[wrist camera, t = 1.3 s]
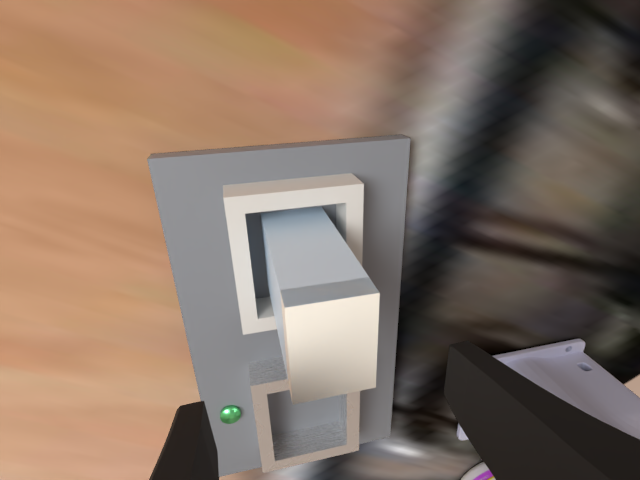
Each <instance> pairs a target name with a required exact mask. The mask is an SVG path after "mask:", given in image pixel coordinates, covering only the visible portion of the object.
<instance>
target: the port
mask: <svg viewBox="0 0 640 480" xmlns="http://www.w3.org/2000/svg"><path fill="white" fill-rule="evenodd" d="M248 365H249V376H250V387H251V394H252V401H253V408H254V415H255V422H256V429H257V436H258V443H259V450H260V456H261V463H262V470H263V473H265V472H269V471H273V470H278V469H282V468H286V467H290V466H295V465H299V464H303V463H307V462H312V461H316V460H320V459H324V458H329V457H333V456H337V455H341V454H346V453H350V452H354V451H358V450H359V416H360V391H357V392H352V393H347V394H342V395H339V421H337V422H332V423H327V424H323V425H318V426H314V427H309V428H305V429H300V430H295V431H291V432H286V433H282V434H277V435H273V436H272V433H271V424H270V416H269V408H268V400H267V394H271V393H276V392H281V391H286V390H290V389H289V384H288V379H287V375H286V370H285V365H284V360H283V357H277V358H272V359H266V360H261V361H255V362H250V363H248ZM240 417H241V411H240V408H239V407H238V406H236V405H228V406H225V407H224V408H223V409H222V410H221V411H220V420H221V421H222V422H223V423H226V424H232V423H235V422H237V421H238V420H239V419H240Z"/></svg>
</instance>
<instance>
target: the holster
mask: <svg viewBox="0 0 640 480" xmlns="http://www.w3.org/2000/svg"><path fill="white" fill-rule="evenodd" d="M223 199H224V206H225V213H226V220H227V227H228V234H229V241H230V248H231V255H232V262H233V269H234V276H235V283H236V290H237V297H238V304H239V311H240V318H241V325H242V331H243V335H245V334H251V333H257V332H263V331H269V330H275V329H277V326H276V322H275V317H274V312H273V307H272V302H271V297H264V298H257V299H255V292H254V284H253V276H252V268H251V259H250V251H249V243H248V234H247V226H246V218H245V214H247V213H256V212H265V211H275V210H284V209H293V208H302V207H311V206H320V205H329V204H336V229H337V230H338V232H339V233H340V235H341V236H342V238H343V239H344V241H345V242H346V244H347V245H348V247H349V248H350V250H351V251H352V252H353V254H354V255H355V257H356V258H357V260H358V261H359V263H360V264H361V266H362V253H363V199H364V183H362V182H361V181H360V180H359V179H358V178H357V177H356V176H354V175H353V174H352V173H348V174H337V175H327V176H316V177H305V178H295V179H284V180H274V181H263V182H252V183H242V184H231V185H223Z"/></svg>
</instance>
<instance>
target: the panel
mask: <svg viewBox="0 0 640 480" xmlns="http://www.w3.org/2000/svg"><path fill="white" fill-rule="evenodd" d="M409 153H410V138H409V137H406V136H404V135H391V136H378V137H365V138H352V139H339V140H326V141H313V142H300V143H287V144H274V145H261V146H248V147H235V148H222V149H209V150H196V151H183V152H170V153H157V154H151V155H150V156H149V157H148V159H147V160H148V164H149V169H150V173H151V178H152V182H153V187H154V191H155V196H156V200H157V205H158V209H159V214H160V218H161V223H162V227H163V232H164V237H165V241H166V246H167V250H168V255H169V259H170V264H171V268H172V273H173V277H174V282H175V286H176V291H177V295H178V300H179V304H180V309H181V313H182V318H183V322H184V327H185V331H186V336H187V340H188V345H189V349H190V354H191V358H192V363H193V367H194V372H195V376H196V381H197V385H198V390H199V394H200V399H201V401H204V402H205V406H206V410H207V414H208V417H209V421H210V425H211V429H212V432H213V436H214V440H215V444H216V447H217V451H218V469H219V477H220V476H225V475H229V474H233V473H238V472H242V471H246V470H251V469H255V468H259V467H262V463H261V456H260V450H259V443H258V436H257V429H256V422H255V415H254V408H253V401H252V394H251V387H250V376H249V365H248V363H250V362H255V361H261V360H266V359H272V358H277V357H283V355H282V350H281V346H280V341H279V336H278V331H277V329H275V330H269V331H263V332H257V333H251V334H245V335H243V331H242V325H241V318H240V311H239V304H238V297H237V290H236V283H235V276H234V269H233V262H232V255H231V248H230V241H229V234H228V227H227V220H226V213H225V206H224V199H223V185H231V184H242V183H252V182H263V181H274V180H284V179H295V178H305V177H316V176H327V175H337V174H348V173H352V174H353V175H354V176H356V177H357V178H358V179H359V180H360V181H361V182H362V183H364V199H363V253H362V267H363V269H364V270H365V272H366V273H367V275H368V276H369V278H370V279H371V281H372V282H373V284H374V285H375V287H376V288H377V289H378V291H379V292H380V299H379V323H378V347H377V371H376V388H371V389H366V390H362V391H360V416H359V444H362V443H366V442H371V441H375V440H379V439H384V438H388V437H390V432H391V417H392V403H393V388H394V373H395V359H396V344H397V329H398V315H399V300H400V285H401V270H402V256H403V241H404V226H405V212H406V197H407V182H408V168H409ZM314 207H322V208H323V210H324V211H325V213H326V214H327V216H328V217H329V218H330V220H331V221H332V223H333V224H334V226H335V227H336V204H329V205H320V206H311V207H302V208H293V209H284V210H275V211H265V212H256V213H247V214H245V218H246V226H247V234H248V243H249V251H250V259H251V268H252V276H253V284H254V292H255V299H257V298H264V297H270V293H269V288H268V281H267V272H266V262H265V252H264V242H263V233H262V223H261V213H268V212H277V211H286V210H295V209H304V208H314ZM267 400H268V408H269V416H270V424H271V433H272V436H273V435H277V434H282V433H286V432H291V431H295V430H300V429H305V428H309V427H314V426H318V425H323V424H327V423H332V422H337V421H339V395H337V396H332V397H328V398H323V399H318V400H313V401H308V402H303V403H298V404H294V405H293V404H292V399H291V394H290V390H286V391H281V392H276V393H271V394H267ZM228 405H236V406H238V407H239V408H240V411H241V417H240V419H239V420H238V421H237V422H235V423H232V424H226V423H223V422H222V421H221V420H220V411H221V410H222V409H223V408H224V407H225V406H228Z"/></svg>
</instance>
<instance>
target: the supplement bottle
mask: <svg viewBox="0 0 640 480" xmlns="http://www.w3.org/2000/svg"><path fill="white" fill-rule="evenodd" d="M461 480H496V479H495V478H494V476H493V475H492V473H491V472H490V470H489V469H488V467H487V466H486V464H485V463H484V462H481V463H479V464H477V465H476V466H474V467H473V468H471V469H470V470H469V471H468V472H467V473H466V474H465V475H464V476H463V477H462V478H461Z"/></svg>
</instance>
